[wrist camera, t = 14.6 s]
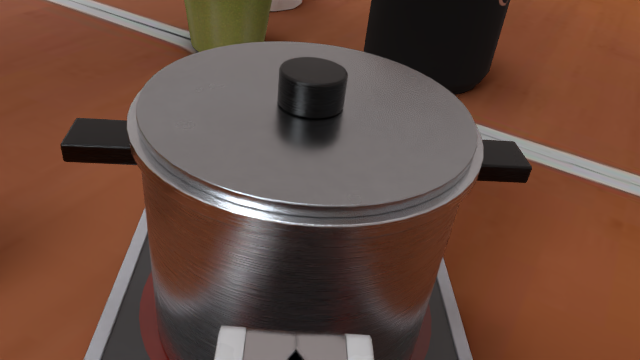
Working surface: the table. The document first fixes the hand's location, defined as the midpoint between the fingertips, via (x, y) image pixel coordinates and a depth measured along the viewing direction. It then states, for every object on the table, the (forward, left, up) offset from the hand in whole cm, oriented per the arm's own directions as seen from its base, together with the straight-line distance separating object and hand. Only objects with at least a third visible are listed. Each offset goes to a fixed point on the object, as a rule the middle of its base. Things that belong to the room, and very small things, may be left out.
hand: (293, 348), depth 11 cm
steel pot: (+6, +7, -9) cm, 13 cm away
